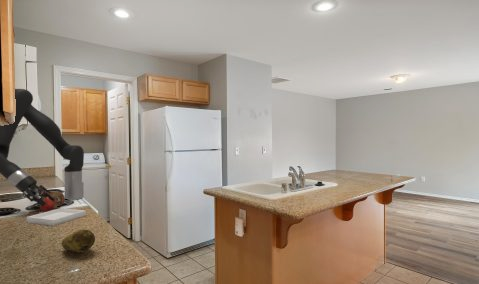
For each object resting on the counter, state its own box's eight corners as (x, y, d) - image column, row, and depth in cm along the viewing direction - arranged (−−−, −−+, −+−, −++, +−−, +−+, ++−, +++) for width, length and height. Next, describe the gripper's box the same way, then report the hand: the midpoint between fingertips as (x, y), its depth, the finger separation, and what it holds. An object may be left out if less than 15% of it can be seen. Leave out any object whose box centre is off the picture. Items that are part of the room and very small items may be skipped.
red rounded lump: (37, 213, 131) (37, 197, 130) (50, 210, 136) (50, 195, 136) (43, 215, 128) (43, 198, 128) (56, 212, 133) (56, 196, 133)
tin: (39, 205, 146) (39, 190, 146) (45, 204, 149) (45, 189, 149) (60, 207, 142) (59, 192, 142) (65, 206, 145) (65, 191, 145)
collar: (49, 209, 138) (49, 206, 138) (64, 211, 135) (64, 208, 135) (28, 214, 128) (28, 211, 128) (43, 216, 125) (43, 213, 125)
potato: (89, 243, 92) (89, 220, 92) (97, 256, 82) (97, 230, 82) (60, 250, 87) (60, 226, 87) (66, 264, 77) (65, 236, 77)
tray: (61, 213, 131) (61, 208, 131) (85, 215, 127) (85, 210, 127) (26, 222, 116) (26, 216, 116) (53, 226, 111) (53, 220, 111)
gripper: (19, 177, 123) (47, 200, 125) (36, 173, 137) (61, 194, 139) (6, 189, 122) (35, 212, 124) (24, 184, 136) (50, 205, 138)
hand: (48, 202), depth 132 cm, fingers open, 8 cm apart
